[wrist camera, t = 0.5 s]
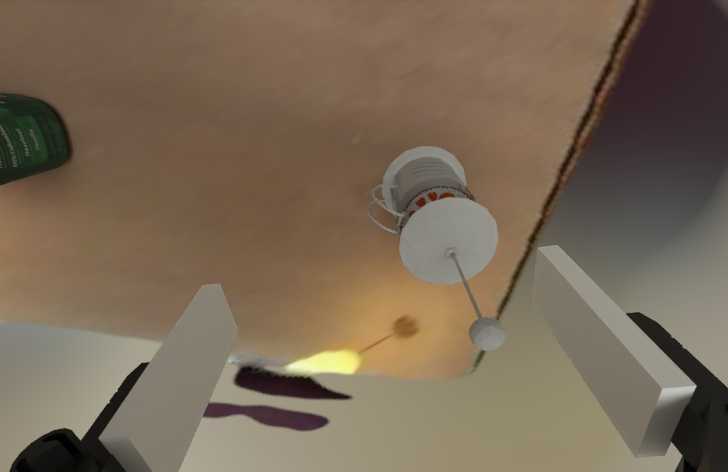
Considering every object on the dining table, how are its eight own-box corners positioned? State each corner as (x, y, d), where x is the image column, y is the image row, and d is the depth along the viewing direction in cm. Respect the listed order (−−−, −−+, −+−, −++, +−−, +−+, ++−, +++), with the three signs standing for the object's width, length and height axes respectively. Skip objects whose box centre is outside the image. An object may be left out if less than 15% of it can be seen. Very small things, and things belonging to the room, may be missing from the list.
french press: (447, 234, 44) (531, 419, 22) (357, 211, 42) (347, 382, 20) (480, 159, 40) (627, 293, 17) (380, 130, 38) (401, 235, 16)
